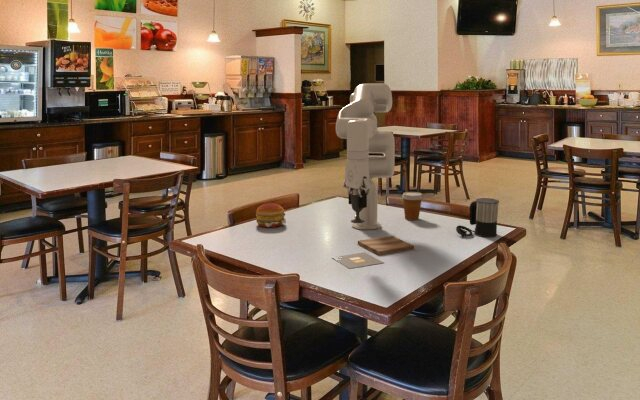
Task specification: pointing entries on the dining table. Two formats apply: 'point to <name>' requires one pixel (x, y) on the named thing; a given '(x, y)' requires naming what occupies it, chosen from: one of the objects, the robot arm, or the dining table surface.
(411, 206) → the disposable coffee cup
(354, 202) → the sundae
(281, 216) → the burger
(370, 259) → the card
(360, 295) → the dining table surface
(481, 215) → the milk frother
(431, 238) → the dining table surface
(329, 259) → the dining table surface
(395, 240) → the board
